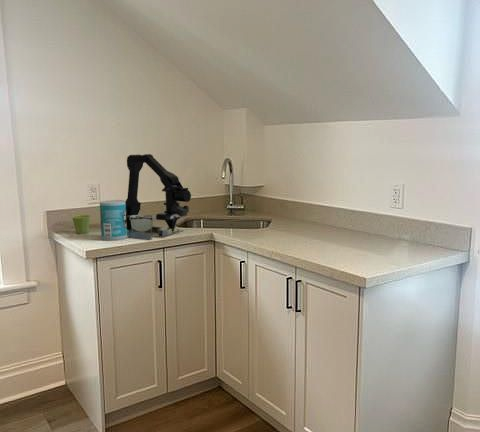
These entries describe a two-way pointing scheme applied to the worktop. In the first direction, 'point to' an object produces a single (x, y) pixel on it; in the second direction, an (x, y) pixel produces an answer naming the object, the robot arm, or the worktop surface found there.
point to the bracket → (143, 235)
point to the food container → (142, 223)
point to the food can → (113, 220)
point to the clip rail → (166, 232)
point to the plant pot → (81, 223)
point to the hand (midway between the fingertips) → (172, 231)
